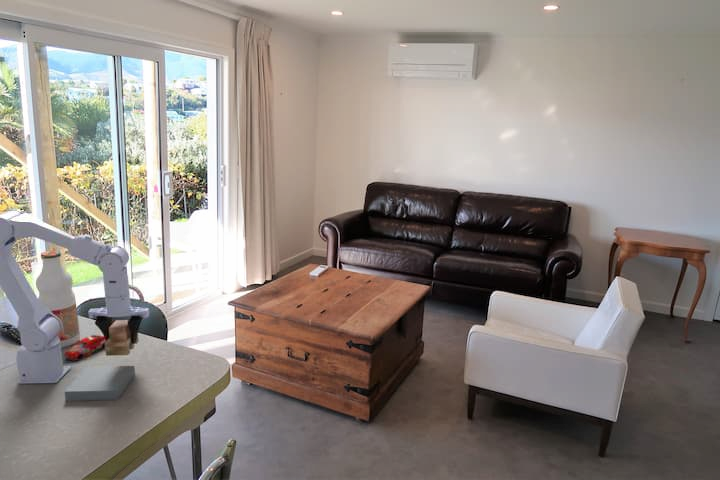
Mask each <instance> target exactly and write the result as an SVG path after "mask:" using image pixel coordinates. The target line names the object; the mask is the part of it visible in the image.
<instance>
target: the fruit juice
mask: <svg viewBox="0 0 720 480" xmlns="http://www.w3.org/2000/svg"><path fill="white" fill-rule="evenodd" d="M61 258H62V253H61V251H59V250H49V251H43V252H42V253H40V259H41V261H42V268H41V272H40V273H39V275H38V276H37V278H36V280H35V286H36V289H37V291H38V294H39V295H38V297H37V298H38V300H39V302H40V303H41V305H42V306H44V307H47V308H49V309H50V310H51V312H52V313H53V314H54V315H55V316H57V317H58V318H59V319H60V320H61V322H62V329H61V331H60V332H59V333H58V335H59V339H60V345H61V349H63V348H66V347H70V346H74V345H76V343H78V342H79V341H80V340H81V339H80V338H81V334H80V333H81V332H80V325H79V318H78V316H79V315H78V308H77V301H76V294H75V293H74V291H73V282H74V280H73V276H72V274H71V273H70V272H68V271H67V270H66V269H65V268H64V266H63V264H62V262H61Z"/></svg>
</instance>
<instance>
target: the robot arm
mask: <svg viewBox="0 0 720 480" xmlns="http://www.w3.org/2000/svg"><path fill="white" fill-rule="evenodd" d="M26 238H36V239H39V240H42V241H43V242H44V241H45V242H47V243H49V244H53V245H56V246H58V247H61V248H64V249H66V250H68V253H69V255H70V256H71V257H74V258H77V259H78V260H81V261H84V262H86V263H89V264H92V265H94V266H97V267H98V269H99V271H101V273H102V276H103V277H102V279H103V288H104V297H105V307H100V308H90V309H89V310H88V311H87V312H88V319H94V318H96V320H95V321H94V325H95V326H96V327H97V328H98V329H99V331H101V334H103V335H104V337H105V339H106V341H107V340H108V339H109V338H110V335H109V327H110V326H111V325H112V324H113V323H112V322H113V318H129V319H127V320H128V321H127V323H128V326H129V329H130V336H131V344H134V343H135V342H136V341H137V333H138V334H139V328H140V326H141V323H142V321H143V319H147V318H148V317H149V316H150V308H147V307H146V308H145V307H138V306H137V307H136V306H132V305H131V295H130V294H131V293H130V283H129V275H128V268H127V264H128V262H129V260H130V256H129V253H128V251H127V250H126V248H123V247H122V246H121V245H111V244H109V243H106V244H105V243H104V242H100V241H98V240H96V239H94V238H93V235H89V234H86V235H84V234H80V235H77V236H74V235H72V234H70V233H68V232H65V231H64V230H61V229H59V228H57V227H55V226H52V225H50V223H49V224H48V223H46V222H45V221H42V220H40V219H38V218H36V217H35V216H34V215H32V214H29V213H26V212H23V211H21V210H19V209H15V208H14V209H7V210H5V211H4V212H1V213H0V287H1V289H2V291H3V293H4V294H5V296H6V298H7V299H8V302H9V304H11V306H12V308H13V310H14V311H15V312H16V313H15V314H17V316H18V320H17V321H18V322H17V330H18V332H19V336H20V344H21V346H19V348H18V350H17V354H16V367H17V372H18V377H19V380H18V381H17V383H18V384H19V385H23V384H24V385H26V384H56V383H58V382H59V381H60V380H61V379H62V378H63V377H64V376H65V375H66V373H68V371H70V369H72V367H71V366H70V365H65V366H64V361H63V360H64V359H63V355H62V354H63V352H62V348H61V345H60V339H59V335H58V333H59V332H60V331H61V329H62V322H61V320H60V319H59V318H58V317H57V316H55V315H54V314H53V313H52V312H51V310H50V309H49V308H47V307H44V306H42V305H41V303H40V302H39V300H38V297H37V295H36V293H35V291H34V290H33V288H32V286H31V284H30V283H29V281H28V279H27V277H26V275H25V274H24V272H23V269H21V267H20V265H19V263H18V262H17V260H16V258H15V257H14V255H13V252H12V249H13V247H14V245H15V244H16V242H17V240H20V239H26ZM134 345H135V344H134Z"/></svg>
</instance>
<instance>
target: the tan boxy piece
mask: <svg viewBox="0 0 720 480" xmlns="http://www.w3.org/2000/svg"><path fill="white" fill-rule="evenodd" d="M139 341H140V340H139V332H138V333H137V341H136V342H135V343H134V344H131V336H129V337H128V339H127V340H110V338H109V339H108V340H107V341H106V342H105V348H104V349H105V350H104V351H105V356H107V357H109V356H111V357H112V356H129V355H130V353H131V350H134V349H135V345H137V344H138V343H139Z"/></svg>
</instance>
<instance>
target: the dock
mask: <svg viewBox="0 0 720 480" xmlns="http://www.w3.org/2000/svg"><path fill="white" fill-rule="evenodd" d="M135 375H136V370H135V365H115V366H114V365H110V366H109V365H108V366H105V365H104V366H101V365H100V366H86V367H85V368H84V369H83V371H82V372H81V373H80V374H79V375H78V376H77V377H76V378H75V380H73V382H71V383H70V385H69V386H68V387H67V388H65V390H64V399H65V401H66V402H67V401H68V402H71V401H73V402H74V401H76V402H77V401H114V400H115V401H116V400H119V398H120V397H121V395H122V394H123V392H125V390H126V388H127V387H128V385H129V384H130V383H131V381H132V379H133V378H134V376H135Z"/></svg>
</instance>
